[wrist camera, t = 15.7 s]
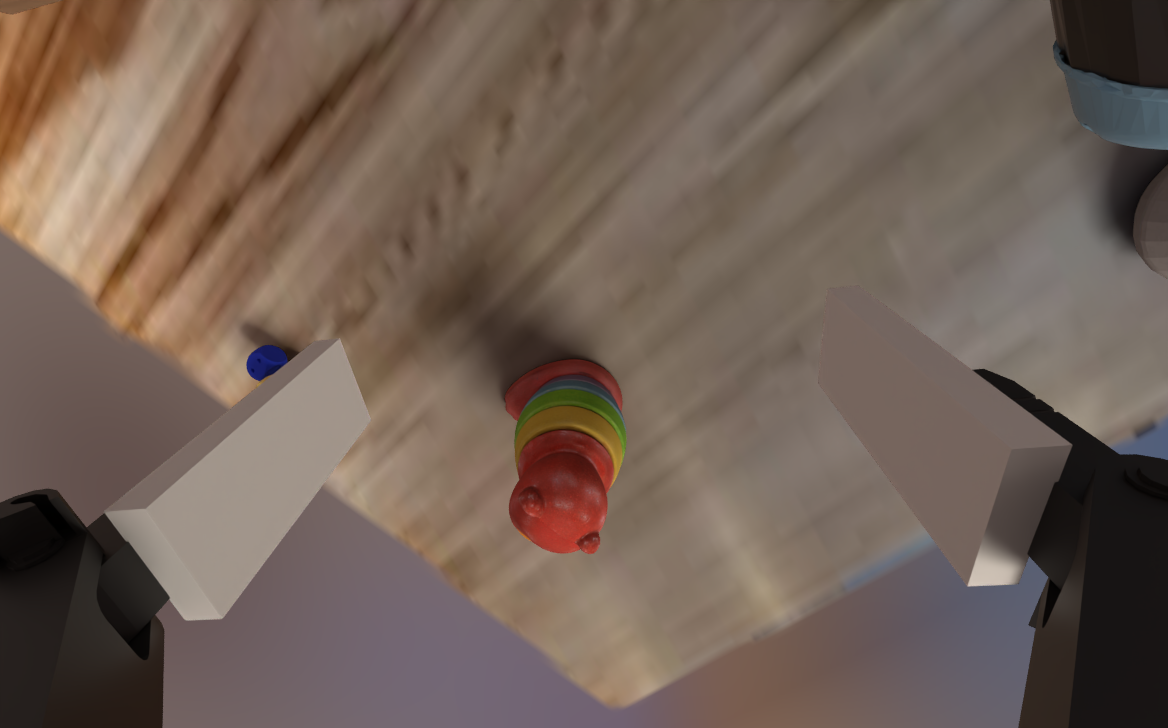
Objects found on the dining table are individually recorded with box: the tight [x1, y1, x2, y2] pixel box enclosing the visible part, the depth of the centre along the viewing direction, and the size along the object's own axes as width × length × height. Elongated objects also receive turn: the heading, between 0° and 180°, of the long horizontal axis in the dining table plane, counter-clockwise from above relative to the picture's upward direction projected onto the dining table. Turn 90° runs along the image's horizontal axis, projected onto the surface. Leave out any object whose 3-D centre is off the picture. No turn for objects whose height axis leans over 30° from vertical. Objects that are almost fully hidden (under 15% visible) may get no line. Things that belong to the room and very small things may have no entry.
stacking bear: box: [505, 359, 626, 554], centre depth 41 cm, size 11×10×18 cm
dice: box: [247, 345, 288, 389], centre depth 46 cm, size 8×3×6 cm, turn 49°
